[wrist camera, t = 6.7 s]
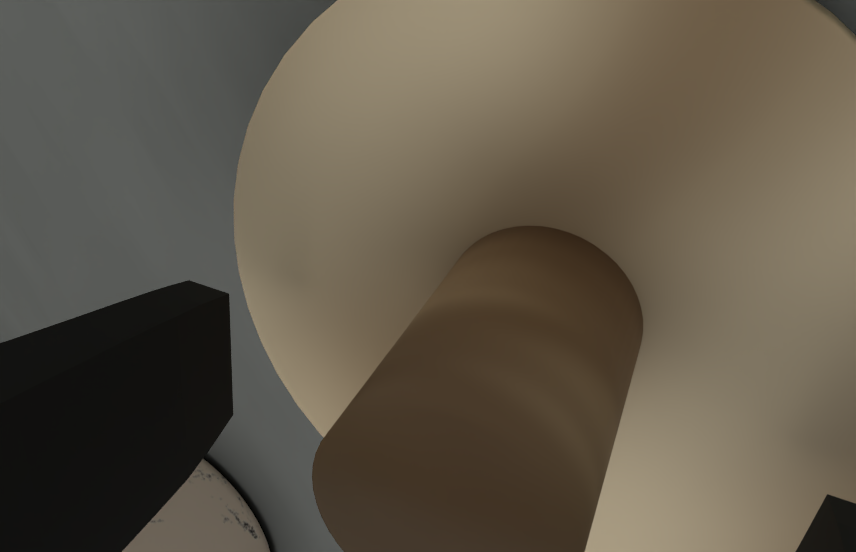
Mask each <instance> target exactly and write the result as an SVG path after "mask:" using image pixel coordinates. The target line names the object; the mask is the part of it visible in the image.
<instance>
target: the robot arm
mask: <svg viewBox="0 0 856 552" xmlns="http://www.w3.org/2000/svg"><path fill="white" fill-rule="evenodd" d="M232 416H233V397H232V367H231V338H230V309H229V294H228V293H225V292H222V291H219V290H216V289H213V288H210V287H207V286H204V285H201V284H198V283H195V282H192V281H185V282H181V283H178V284H174V285H170V286H167V287H164V288H161V289H157V290H154V291H151V292H148V293H145V294H142V295H139V296H136V297H133V298H130V299H127V300H125V301H122V302H119V303H116V304H113V305H110V306H107V307H104V308H102V309H99V310H96V311H93V312H90V313H87V314H84V315H82V316H79V317H76V318H73V319H70V320H67V321H64V322H61V323H58V324H55V325H53V326H50V327H47V328H44V329H41V330H38V331H35V332H32V333H29V334H26V335H24V336H21V337H18V338H15V339H12V340H9V341H6V342H2V343H0V552H122V551H123V550H124V549H125V548H126V547H127V546H128V545H129V543H130V542H131V541H132V540H133V539H134V538H135V537H136V536H137V535H138V534H139V533H140V532H141V530H142V529H143V528H144V527H145V526H146V525H147V524H148V523H149V522H150V521H151V520H152V518H153V517H154V516H155V515H156V514H157V513H158V512H159V511H160V510H161V508H162V507H163V506H164V505H165V504H166V503H167V502H168V501H169V500H170V499H171V497H172V496H173V495H174V494H175V493H176V492H177V491H178V490H179V488H180V487H181V486H182V485H183V484H184V483H185V482H186V481H187V479H188V478H189V477H190V476H191V474H192V473H193V472H194V470H195V469H196V467H197V466H198V465H199V463H200V462H201V461H202V459H203V458H204V456H205V455H206V454H207V452H208V451H209V450H210V448H211V447H212V445H213V444H214V442H215V441H216V439H217V438H218V436H219V435H220V433H221V432H222V430H223V429H224V427H225V426H226V424H227V423H228V421H229V420H230V419H231V417H232ZM796 552H856V503H853V502H850V501H847V500H844V499H841V498H838V497H835V496H832V495H829V494H827V495H826V497H825V499H824V501H823V503H822V505H821V506H820V508H819V510H818V512H817V514H816V515H815V517H814V519H813V521H812V523H811V525H810V526H809V528H808V530H807V532H806V534H805V536H804V537H803V539H802V541H801V543H800V545H799V546H798V548H797V550H796Z"/></svg>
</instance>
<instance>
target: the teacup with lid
mask: <svg viewBox="0 0 856 552" xmlns="http://www.w3.org/2000/svg"><path fill="white" fill-rule="evenodd" d="M122 552H270V550H269V546H268V543H267V540H266V538H265V535H264V533H263V531H262V529H261V527H260V525H259V523H258V521H257V519H256V518H255V516H254V514H253V513H252V511H251V509H250V508H249V507H248V505H247V504H246V502H245V501H244V499H243V498H242V497H241V496H240V494H239V493H238V492H237V491H236V489H235V488H234V487H233V486H232V485H231V484H230V483H229V482H228V481H227V480H226V479H225V478H224V477H223V476H222V475H221V474H220V473H219V472H218V471H217V470H216V469H215V468H214V467H213V466H212V465H210V464H209V463H208V462H207V461H206V460H204V459H202V461H201V462H200V463H199V465H198V466H197V467H196V469H195V470H194V472H193V473H192V474H191V476H190V477H189V478H188V479H187V481H186V482H185V483H184V484H183V485H182V486H181V487H180V488H179V490H178V491H177V492H176V493H175V494H174V495H173V496H172V497H171V499H170V500H169V501H168V502H167V503H166V504H165V505H164V506H163V507H162V508H161V510H160V511H159V512H158V513H157V514H156V515H155V516H154V517H153V518H152V520H151V521H150V522H149V523H148V524H147V525H146V526H145V527H144V528H143V529H142V530H141V532H140V533H139V534H138V535H137V536H136V537H135V538H134V539H133V540H132V541H131V542H130V543H129V545H128V546H127V547H126V548H125V549H124V550H123V551H122Z"/></svg>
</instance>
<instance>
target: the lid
mask: <svg viewBox="0 0 856 552" xmlns="http://www.w3.org/2000/svg"><path fill="white" fill-rule="evenodd" d="M234 239H235V246H236V254H237V261H238V268H239V274H240V278H241V282H242V286H243V290H244V293H245V297H246V301H247V305H248V309H249V311H250V314H251V316H252V319H253V322H254V324H255V327H256V330H257V332H258V335H259V337H260V340H261V342H262V344H263V346H264V348H265V350H266V352H267V354H268V356H269V358H270V360H271V362H272V364H273V366H274V368H275V370H276V372H277V374H278V375H279V377H280V379H281V380H282V382H283V383H284V385H285V386H286V388H287V390H288V391H289V393H290V394H291V396H292V397H293V399H294V401H295V402H296V404H297V405H298V406H299V408H300V409H301V410H302V411H303V413H304V414H305V415H306V416H307V418H308V419H309V420H310V422H311V423H312V424H313V425H314V427H315V428H316V429H317V431H318V432H319V433H320V434H321V435H322V436H323V437H324V438H323V440H322V441H321V443H320V445H319V447H318V449H317V452H316V454H315V458H314V463H313V472H312V481H313V491H314V495H315V499H316V503H317V506H318V509H319V511H320V514H321V516H322V518H323V520H324V522H325V524H326V526H327V528H328V530H329V532H330V533H331V535H332V536H333V538H334V539H335V541H336V542H337V544H338V545H339V546H340V547H341V549H342V550H343V551H344V552H795V551H796V550H797V548H798V546H799V545H800V543H801V541H802V539H803V537H804V536H805V534H806V532H807V530H808V528H809V526H810V525H811V523H812V521H813V519H814V517H815V515H816V514H817V512H818V510H819V508H820V506H821V505H822V503H823V501H824V499H825V497H826V495H827V494H829V495H832V496H835V497H838V498H841V499H844V500H847V501H850V502H853V503H856V35H855V34H854V33H852V32H851V31H850V30H849V29H848V28H847V27H846V26H845V25H844V24H843V23H842V22H841V21H840V20H839V19H838V18H837V17H836V16H835V15H834V14H833V13H832V12H830V11H829V10H828V9H826V8H825V7H823V6H822V5H820V4H819V3H818V2H816V1H815V0H337V1H336V2H335V3H334V4H333V5H331V6H330V7H329V8H328V9H327V10H326V11H324V12H323V13H322V14H321V15H320V16H319V17H318V18H316V19H315V20H314V21H313V22H312V23H311V24H310V25H309V27H308V28H307V29H306V30H305V31H304V33H303V34H302V35H301V36H300V37H299V38H298V40H297V41H296V42H295V43H294V44H293V45H292V47H291V48H290V49H289V50H288V51H287V53H286V54H285V55H284V57H283V58H282V60H281V62H280V63H279V65H278V67H277V68H276V70H275V71H274V73H273V75H272V76H271V78H270V80H269V81H268V83H267V84H266V86H265V88H264V89H263V92H262V94H261V96H260V99H259V101H258V103H257V106H256V108H255V110H254V113H253V115H252V118H251V120H250V122H249V125H248V128H247V131H246V135H245V139H244V143H243V147H242V150H241V154H240V158H239V162H238V169H237V177H236V186H235V194H234Z"/></svg>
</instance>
